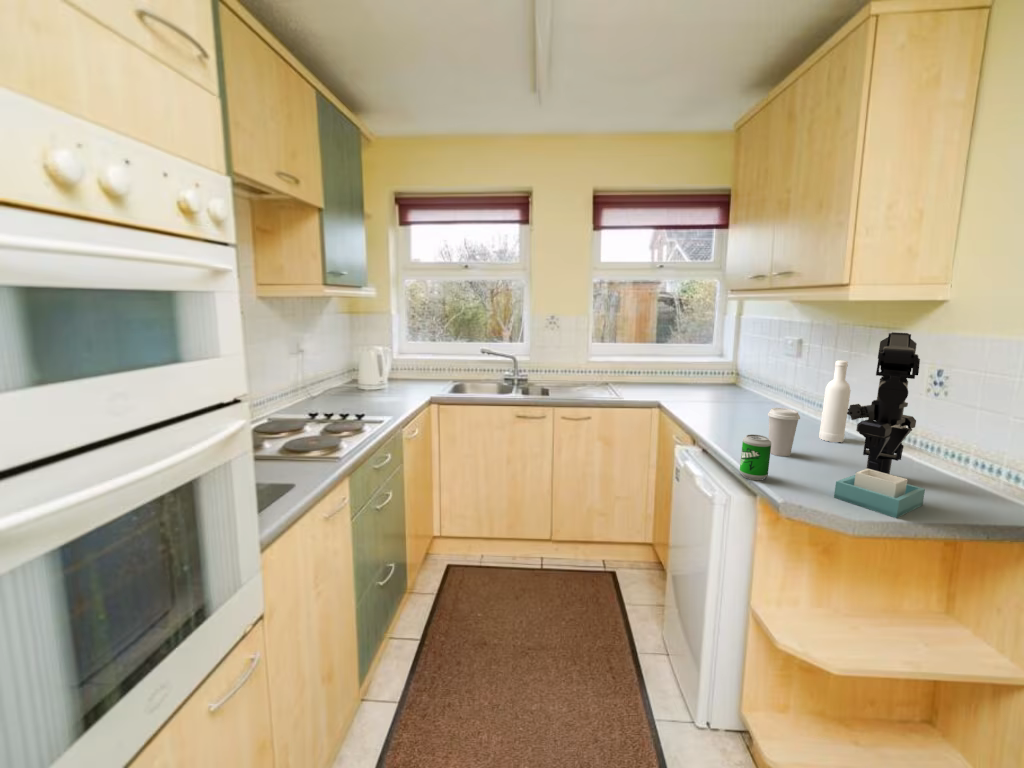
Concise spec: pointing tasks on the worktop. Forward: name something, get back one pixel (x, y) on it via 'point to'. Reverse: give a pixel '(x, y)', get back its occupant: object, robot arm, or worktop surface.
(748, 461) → the soda can
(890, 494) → the small crate
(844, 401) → the bottle
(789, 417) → the coffee cup
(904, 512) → the big crate
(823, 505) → the worktop surface
